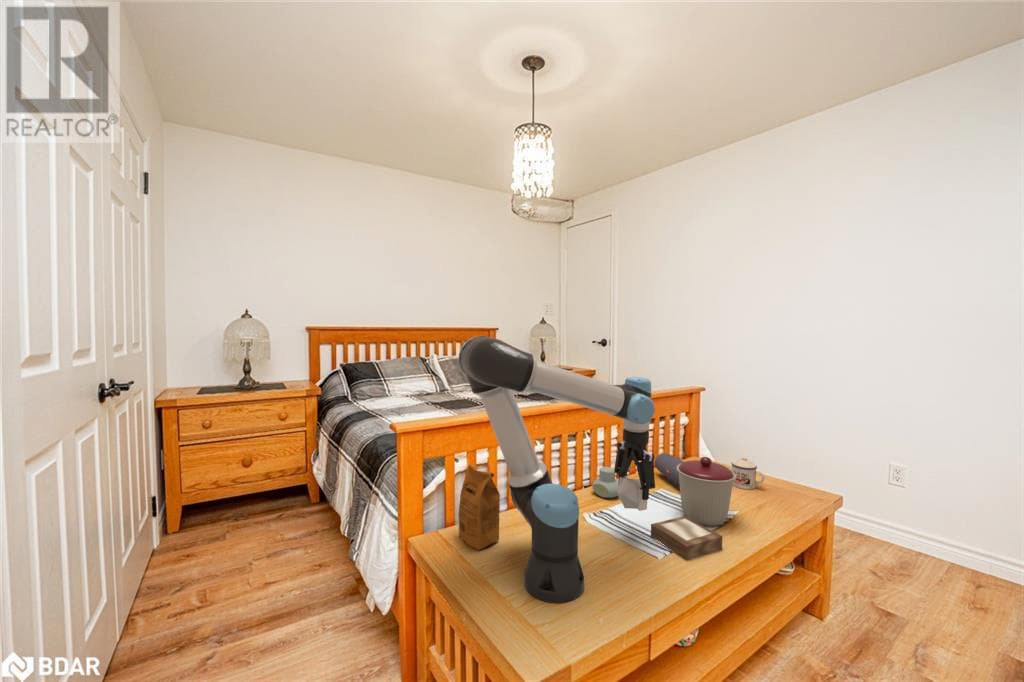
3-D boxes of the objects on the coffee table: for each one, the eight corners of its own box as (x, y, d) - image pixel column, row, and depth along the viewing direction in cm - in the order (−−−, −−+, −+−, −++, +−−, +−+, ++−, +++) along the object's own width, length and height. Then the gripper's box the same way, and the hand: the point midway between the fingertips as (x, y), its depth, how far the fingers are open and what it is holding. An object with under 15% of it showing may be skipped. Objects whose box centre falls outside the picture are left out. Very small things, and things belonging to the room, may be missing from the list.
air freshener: (588, 493, 164) (589, 467, 163) (601, 487, 169) (601, 463, 169) (612, 502, 156) (613, 475, 155) (625, 496, 161) (626, 470, 161)
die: (641, 518, 123) (658, 487, 126) (614, 499, 125) (631, 469, 127) (634, 516, 131) (650, 488, 134) (609, 498, 133) (625, 471, 136)
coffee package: (480, 526, 137) (480, 458, 136) (503, 542, 127) (504, 470, 126) (453, 536, 131) (453, 465, 130) (476, 553, 121) (476, 477, 120)
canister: (732, 513, 148) (735, 453, 147) (735, 537, 132) (738, 470, 131) (676, 503, 156) (678, 446, 155) (673, 524, 139) (675, 461, 138)
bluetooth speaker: (652, 475, 184) (653, 452, 183) (672, 473, 186) (673, 451, 185) (683, 496, 162) (684, 470, 161) (705, 495, 163) (706, 469, 163)
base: (686, 560, 119) (687, 545, 119) (650, 536, 131) (651, 523, 131) (721, 549, 125) (722, 535, 124) (684, 527, 137) (684, 514, 137)
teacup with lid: (727, 485, 173) (728, 457, 172) (735, 479, 179) (736, 452, 179) (760, 494, 164) (761, 464, 164) (767, 488, 171) (768, 459, 170)
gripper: (671, 437, 120) (667, 516, 121) (623, 420, 139) (619, 489, 140) (651, 439, 117) (647, 520, 118) (604, 421, 136) (601, 492, 137)
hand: (632, 503), depth 129 cm, fingers closed on die, 8 cm apart
